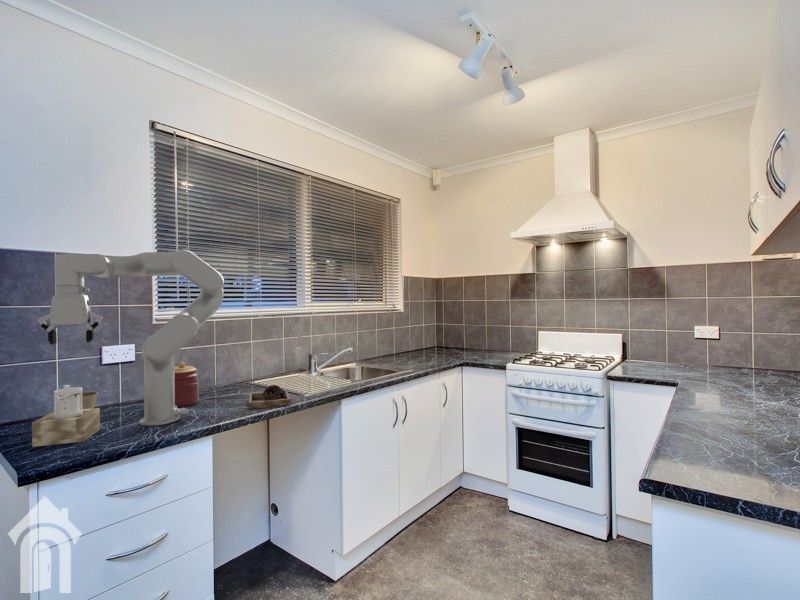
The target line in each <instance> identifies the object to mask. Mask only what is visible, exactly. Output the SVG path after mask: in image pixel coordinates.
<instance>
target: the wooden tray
mask: <svg viewBox="0 0 800 600" xmlns="http://www.w3.org/2000/svg"><path fill="white" fill-rule="evenodd" d="M283 390H284V389H283ZM265 395H268V394H267V392H266V393H265ZM284 395H285V396H286V399H277V400H276V399H275V400H269V401H263V400H262V401H260V400H261V399H263V391H262V392H261V391H260V392H251V393H249V395H248V398H249V399H248V410H253V409H254V410H255V409H264V408H265V409H266V408H267V409H268V408H275V407H277V408H278V407H284V406H283V405H287V406H291V397H290V394H289V392H288V390H287V389H285V390H284ZM259 399H260V400H259ZM253 400H259V401H253Z"/></svg>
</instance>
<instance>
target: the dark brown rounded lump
mask: <svg viewBox="0 0 800 600" xmlns="http://www.w3.org/2000/svg"><path fill="white" fill-rule="evenodd" d="M262 392H263V398H262V401H269V400H280V399H286V396H285V395H284V389H283V388H281V387H280V385H278V384H272V385H269V386H267V387H266V388H265V389H264V390H263V391H262ZM266 392H267V394H268V395H265V393H266Z"/></svg>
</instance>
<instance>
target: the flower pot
mask: <svg viewBox="0 0 800 600" xmlns="http://www.w3.org/2000/svg"><path fill="white" fill-rule="evenodd" d="M82 392H83V391H82ZM78 394H80V393H77V394H71V395H70V397H66V398H71V396H72V395H75V397H76V395H78ZM98 395H99V392H98V391H84V392H83V409H92V408H95V407H96V400H97V396H98Z"/></svg>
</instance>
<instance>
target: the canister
mask: <svg viewBox="0 0 800 600" xmlns="http://www.w3.org/2000/svg"><path fill="white" fill-rule="evenodd" d="M197 370H198V369H197V368H196V367H194V366H193V365H186V363H185V362H184V361H181V362H178V365H177V366H175V405H177V408H179V407H178V406H180V407H186V405H187V406H192V405H195V404H198V402H199V399H200V393H199V390H200V386H199V384H200V381H199V379H198V377H199V375H200V374H199V373H198V372H197Z"/></svg>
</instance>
